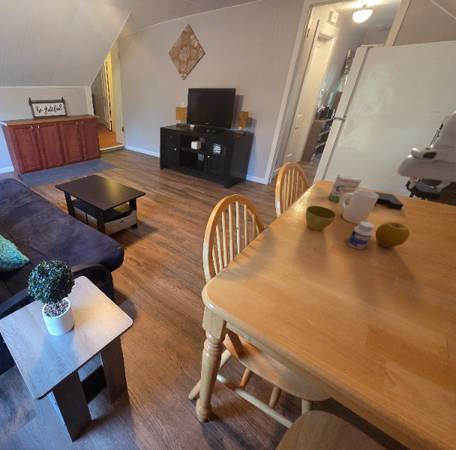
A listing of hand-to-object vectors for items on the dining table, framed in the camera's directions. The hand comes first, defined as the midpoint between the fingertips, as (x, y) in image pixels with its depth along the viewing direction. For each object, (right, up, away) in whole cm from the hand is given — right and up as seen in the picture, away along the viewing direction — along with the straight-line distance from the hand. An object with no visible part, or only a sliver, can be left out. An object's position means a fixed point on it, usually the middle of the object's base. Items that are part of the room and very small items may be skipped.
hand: (423, 189), depth 93 cm
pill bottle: (-30, -21, -5) cm, 37 cm away
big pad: (+6, -2, +25) cm, 26 cm away
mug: (-19, -10, +12) cm, 25 cm away
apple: (-19, -21, -5) cm, 29 cm away
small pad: (+1, -1, +2) cm, 2 cm away
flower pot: (-38, -15, +5) cm, 41 cm away
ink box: (-12, -1, +27) cm, 29 cm away
